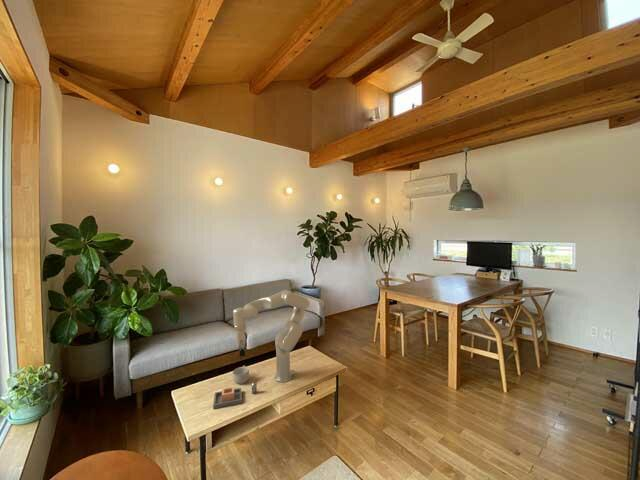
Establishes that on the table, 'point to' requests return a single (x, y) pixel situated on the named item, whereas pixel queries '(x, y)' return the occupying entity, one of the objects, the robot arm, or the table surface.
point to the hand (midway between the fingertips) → (242, 352)
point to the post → (254, 387)
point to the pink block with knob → (227, 394)
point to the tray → (220, 404)
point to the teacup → (241, 375)
